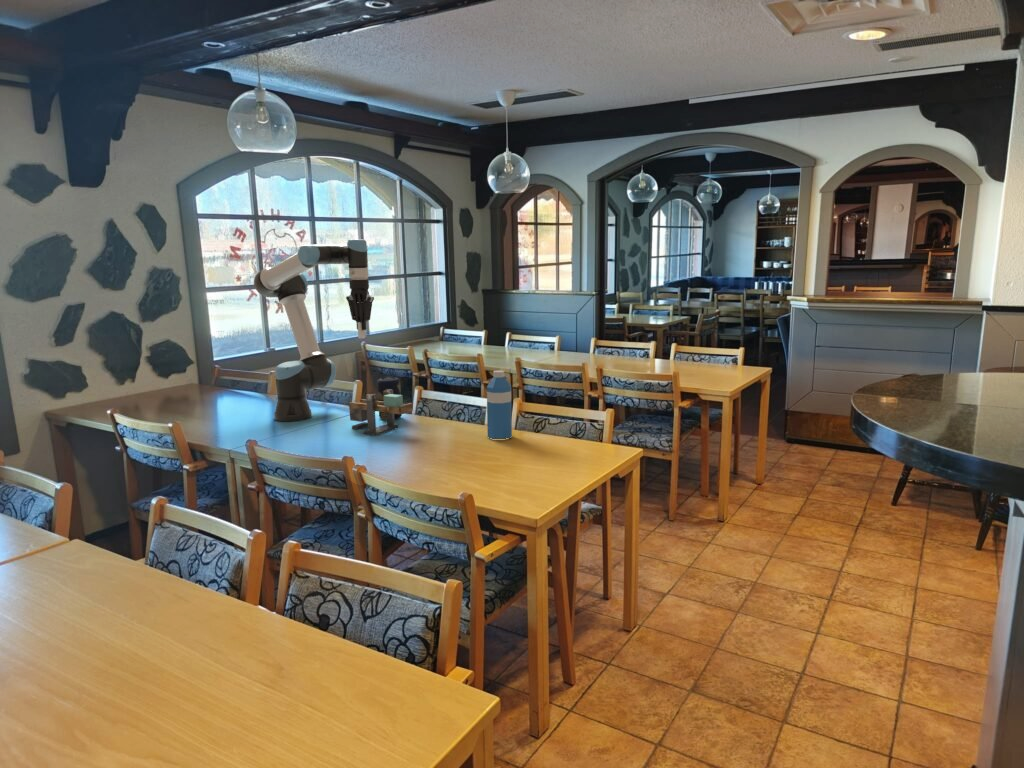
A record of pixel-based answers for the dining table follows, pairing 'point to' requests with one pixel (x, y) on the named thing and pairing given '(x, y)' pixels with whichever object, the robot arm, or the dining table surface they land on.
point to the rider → (393, 400)
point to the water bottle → (499, 407)
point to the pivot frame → (372, 422)
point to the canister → (390, 384)
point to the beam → (360, 409)
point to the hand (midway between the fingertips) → (362, 338)
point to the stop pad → (360, 425)
